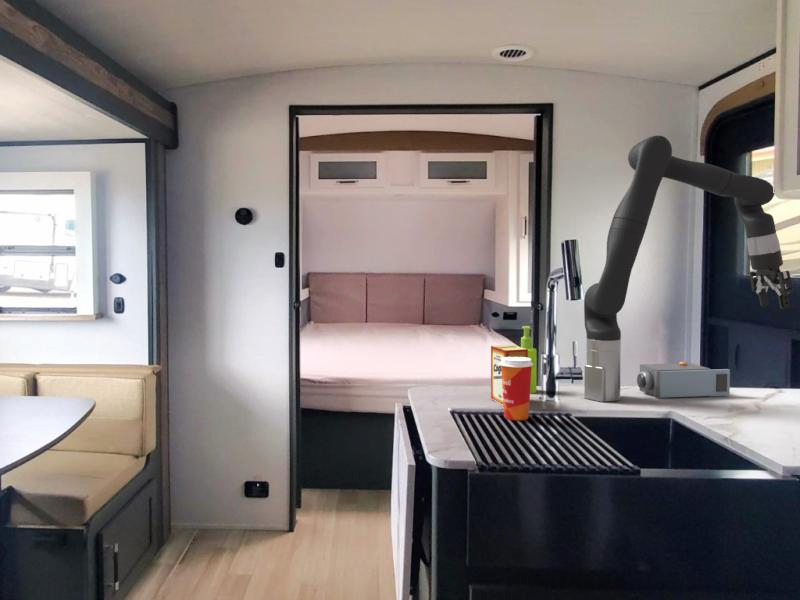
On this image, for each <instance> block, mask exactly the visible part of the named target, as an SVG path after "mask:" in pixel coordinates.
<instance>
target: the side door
mask: <svg viewBox="0 0 800 600" xmlns="http://www.w3.org/2000/svg"><path fill="white" fill-rule="evenodd" d="M730 385H731V369H728V368H723V369H721V368H720V369H719V368H718V369H711V370H681V371H655V396H654V398H656V399H661V398H660V397H667V398H688V396H695V397H714V396H715V397H716V396H730V392H731V391H730V389H731V387H730Z"/></svg>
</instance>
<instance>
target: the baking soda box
mask: <svg viewBox="0 0 800 600" xmlns="http://www.w3.org/2000/svg"><path fill="white" fill-rule="evenodd" d="M504 357H526V358H528V349H525V348H521V346H518V345H515V344H506V345H505V344H503V345H491V346H490V399H491V398H492V399H494V400H496V401H498V402H500V403H501V404H503V389H502V372H501V365H500V363H501V359H502V358H504Z"/></svg>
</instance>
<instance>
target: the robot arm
mask: <svg viewBox="0 0 800 600" xmlns="http://www.w3.org/2000/svg"><path fill="white" fill-rule="evenodd" d="M627 161H628V164H629V166H630V167H631V168H632V169H633V171H634V174H633V178H632V181H631V183H630V186H629V187H628V189H627V191H625V194H624V196H623V197H622V199H621V201H620V202H619V204H618V205H617V208H615V209H616V210H615V212H614V213H613V216H612V219H611V223H610V225H609V226H610V227H609V229H608V233H607V240H606V257H605V265H604V268H603V271H602V273H601V275H600V279H599V282H597V283H594V284H592V285H591V286H589V287H588V288H587V290H586V292H585V294H584V298H583V300H584V302H583V303H584V304H583V306H584V307H583V311H584V312H583V313H584V314H583V315H584V317H583V319H584V328H585V332H586V350H585V351H586V355H585V357H586V363H585V365H584V395H583V397H584V399H588V400H592V401H598V402H603V403H605V402H615V401H620V400H621V357H622V356H621V352H622V351H621V348H622V346H621V345H622V342H621V341H622V340H621V339H622V334H621V333H622V331H621V329H620V327H619V323H618V317H617V316H618V313H619V312H620V311H621V310H622V309H623V307H624V305H625V302H626V298H627V297H626V296H627V293H628V288H629V283H630V277H631V274H632V270H633V268H634V264H635V262H636V259H637V256H638V254H639V250H640V247H641V244H642V242H643V238H644V235H645V233H646V229H647V227H648V222H649V219H650V216H651V214H652V210H653V206H654V203H655V200H656V196H657V193H658V190H659V187H660V184H661V183H662V179H663V178H666V179H670V180H672V181H677V182H679V183H684V184H686V185H690V186H692V187H695V188H698V189H700V190H703V191H706V192H709V193H712V194H713V195H716V196H720V197H723V198H724V197H725V198H729V197H731V198H732V197H733V200H734V205H735V208H736V210H737V213H738V214H739V216H740V219H741V220H742V222H743V225H744V230H745V234H746V241H747V244H746V245H747V250H748V256H749V263H750V266H751V269H752V270H753V271H750V272H749V279H750V284H751V285H750V286H751V291H752V292H755V293H756V294H757V295H758V299H759V305H760V306H761V307H767V306H770V299H769V293H768V289H769V287H770V288H771V289H772V291H773V290H774V291H775V293H776V294H777V295H778V296H777V299H778V303H779V307H780V309H782V310H783V309H788V308H790V304H791V303H790V298H789V294H790V293H793V292H794V287H793V282H792V279H791V274H790V271H789V270H783V271H781V269H780V268H781V266H783V264H784V261H783V256H782V251H781V245H780V241H779V238H778V234H777V230H776V225H775V220H774V216H773V215H772V214H770V213H767V212H765V211H764V208H763V206H764V205H766V204H769V203H770V202H771V201H772V200H773V199H774V197H775V193H773V188H774V187H773V185H772V184H771V183H770V182H769V181H767V180H765V179H763V178H760V177H757V176H751V175H746V174H741V173H740V174H739V173H735V172H733V171H731V170H728V169H726V168H723V167H721V166H717V165H713V164H711V163H706V162H699V161H693V160H688V159H683V158H680V157H676V156H673V148H672V143H671V142H670V141H669V139H668V138H667V137H665V136H663V135H660V134H659V135H652V136H649V137H647V138H645V139H642V140H641V141H639V142H637V143H636V144H635V145H633V146H632V148H631V149H629V152H628V155H627Z"/></svg>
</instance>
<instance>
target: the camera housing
mask: <svg viewBox="0 0 800 600" xmlns="http://www.w3.org/2000/svg"><path fill="white" fill-rule="evenodd" d="M681 370H712V369H711V368H710V367H706V366H702V365H699V364H695V363H691V362H686V361H679V362H678V363H677V362H676V363H673V362H672V363H648V364H647V363H644V364H643V363H642V364H639V372H638V374H637V377H636V383H637V386H638V388H639V391H640V392H642V393H645V394H647V393H648V395H650V396H652V397H655V371H681ZM688 397H689V398H691V397H692V398H693V397H696V396H688ZM688 397H687V398H688ZM662 398H664V399H665V398H666V399H667V398H668V397H660V398H659V399H662Z"/></svg>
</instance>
